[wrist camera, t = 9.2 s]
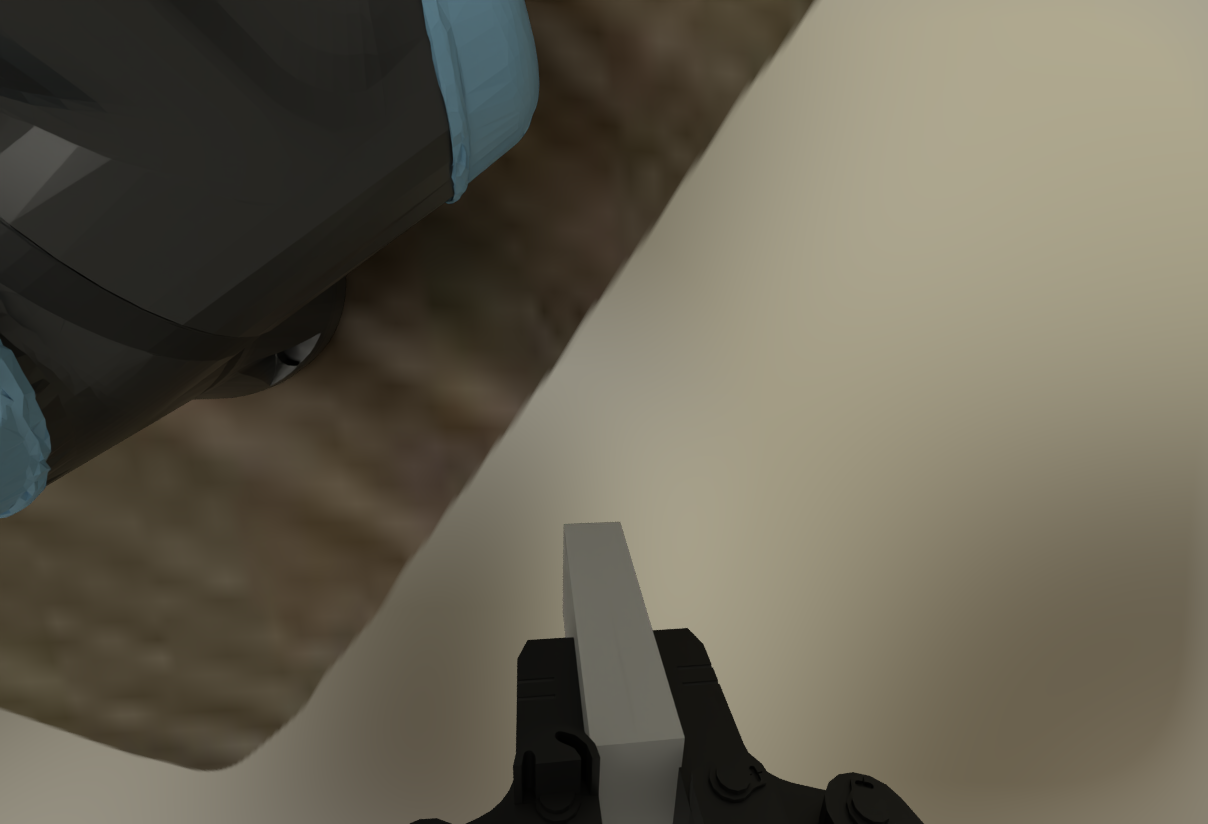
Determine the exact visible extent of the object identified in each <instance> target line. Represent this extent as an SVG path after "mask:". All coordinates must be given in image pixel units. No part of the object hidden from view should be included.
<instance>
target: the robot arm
mask: <svg viewBox="0 0 1208 824" xmlns="http://www.w3.org/2000/svg"><path fill="white" fill-rule="evenodd" d="M538 96H539V71H538V61H537V54H536V48H535V42H534V37H533V33H532V29H531V25H530V21H529V16H528V12H527V9H526V5H525V1H524V0H0V518H5V517H8V516H11V515H13V514H15V513H16V512H19V511H20V510H22V509H23V508H25V507H27V506H28V505H29V504H31V503H32V502H33V501H34V500H35V499H36V497H37V496H38V495H39V494H40V493H41V492H42V491H43V490H44V488H45V487H46V486H47V485H49V484H51V483H52V482H54V481H56V480H57V479H59V478H61V477H62V476H64V475H66V474H67V473H69V472H71V471H72V470H74V469H76V468H77V467H79V466H81V465H82V464H84V463H86V462H88V461H89V460H91V459H93V458H94V457H96V456H98V455H99V454H101V453H103V452H104V451H106V450H108V449H110V448H111V447H113V446H115V445H116V444H118V443H120V442H121V441H123V440H125V439H126V438H128V437H130V436H132V435H133V434H135V433H137V432H138V431H140V430H142V429H143V428H145V427H147V426H148V425H150V424H152V423H154V422H155V421H157V420H159V419H160V418H162V417H164V416H165V415H167V414H169V413H171V412H172V411H174V410H176V409H177V408H179V407H181V406H182V405H184V404H186V403H187V402H189V401H191V400H193V399H219V398H233V397H239V396H245V395H249V394H253V393H256V392H259V391H262V390H265V389H268V388H270V387H273V386H275V385H277V384H279V383H281V382H283V381H285V380H286V379H288V378H290V377H291V376H292V375H294V374H295V373H297V372H298V371H299V370H301V369H302V368H303V367H305V366H306V365H307V364H309V363H310V362H311V361H312V360H313V359H314V358H315V357H316V356H317V355H318V354H319V353H320V352H321V351H322V350H323V349H324V347H325V346H326V345H327V343H328V342H329V340H330V339H331V337H332V335H333V333H334V332H335V330H336V327H337V325H338V323H339V320H340V317H341V314H342V310H343V306H344V300H345V291H346V275H347V274H348V273H350V272H351V271H352V270H354V269H355V268H356V267H358V266H359V265H360V264H362V263H363V262H364V261H366V260H367V259H369V258H370V257H371V256H373V255H374V254H375V253H377V252H378V251H379V250H381V249H382V248H383V247H385V246H386V245H388V244H389V243H390V242H392V241H393V240H394V239H396V238H397V237H398V236H400V235H401V234H402V233H404V232H405V231H407V230H408V229H409V228H411V227H412V226H413V225H415V224H416V223H417V222H419V221H420V220H421V219H423V218H424V217H426V216H427V215H428V214H430V213H431V212H432V211H434V210H435V209H436V208H438V207H439V206H440V205H442V204H443V203H447V204H452V203H454V202H456V201H458V200H459V199H460V196H461V195H462V194H463V193H464V192H465V191H466V189H467V186H468V183H469V182H471V181H472V180H473V179H474V178H475V177H477V176H478V175H479V174H480V173H482V172H483V171H484V170H485V169H486V168H488V167H489V166H490V165H491V164H493V163H494V162H495V161H496V160H497V159H499V158H500V157H501V156H502V155H504V154H505V153H506V152H507V151H508V150H510V149H511V148H512V147H513V146H514V145H516V144H517V143H518V142H519V141H520V140H521V138H522V137H523V136H524V134H525V133H526V132H527V130H528V128H529V126H530V122H531V119H532V115H533V113H534V111H535V109H536V106H537V102H538ZM563 554H564V555H563V560H564V561H563V617H564V628H565V638H554V639H537V640H528V641H527V642H526V644H525V646H524V648H523V650H522V652H521V653H520V655H519V657H518V661H517V726H516V727H517V728H516V729H517V730H516V756H515V760H514V765H513V775H514V776H513V778H514V780H513V783H512V785H511V787H510V790H509V791H508V793H507V794H506V796H505V797H504V798H503V800H502V801H501V802H500V803H499V804H498V805H497V806H496V807H495V808H493V810H491V811H490V812H488V813H486V814H484V815H483V816H481V817H479V818H477V819H475V820H473V821H471V822H468V823H466V824H924V823H923V822H922V821H921V820H920V819H919V818H918V817H917V815H916V814H915V813H914V812H913V811H912V810H911V809H910V807H909V806H908V805H907V804H906V803H905V802H904V801H903V800H902V799H901V797H899V796H898V795H897V794H896V793H895V792H894V791H893V790H892V789H890V788H889V787H888V786H887V785H886V784H884V783H882V782H880V781H878V780H876V779H874V778H873V777H871V776H867V775H862V774H858V773H854V772H852V773H845V774H839V775H837V776H836V777H835V778H834V779H832V780H831V781H830V782H829V783H828V786H827V789H826V790H822V789H817V788H813V787H809V786H804V785H800V784H795V783H791V782H788V781H785V780H782V779H779V778H778V777H776V776H774V775H772V774H770V773H768V772H767V771H766V769H765V768H764V766H763V765H762V764H761V763H760V762H759V761H758V760H756V759H755V758H754V757H753V756H752V755H751V754H749V753H748V751H747V749H746V747H745V745H744V744H743V741H742V739H741V736H740V734H739V731H738V729H737V726H736V724H735V721H734V719H733V716H732V714H731V711H730V709H729V707H728V704H727V701H726V699H725V697H724V694H723V692H722V689H721V687H720V684H718V679H717V677H716V674H715V672H714V669H713V668H712V667H711V662H710V659H709V657H708V655H707V652H706V650H705V648H704V645H703V643H702V642H701V641H700V640H699V639H698V638H697V637H696V636H695V635H694V634H693V633H692V632H691V631H690V630H689V629H688V628H683V629H667V630H652V627H651V623H650V620H649V617H648V613H647V610H646V607H645V604H644V600H643V597H642V593H641V590H640V587H639V583H638V580H637V577H636V573H635V570H634V567H633V563H632V560H631V556H630V553H629V550H628V546H627V543H626V540H625V536H624V534H623V530H622V526H621V523H620V522H604V523H579V524H564V550H563ZM410 824H451V823H448V822H445V821H443V820H440V819H437V818H435V819H419V820H417V821H415V822H413V823H410Z"/></svg>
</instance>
